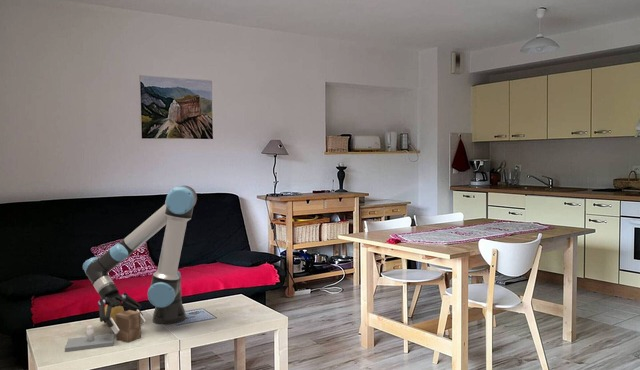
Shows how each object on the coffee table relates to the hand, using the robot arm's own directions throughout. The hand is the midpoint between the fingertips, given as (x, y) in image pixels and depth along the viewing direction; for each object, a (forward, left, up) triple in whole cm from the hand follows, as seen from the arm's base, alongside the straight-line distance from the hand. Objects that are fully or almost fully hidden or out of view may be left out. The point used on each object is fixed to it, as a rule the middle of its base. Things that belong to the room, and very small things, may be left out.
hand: (130, 327), depth 226 cm
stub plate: (+16, 0, -5) cm, 17 cm away
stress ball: (+8, -26, -5) cm, 28 cm away
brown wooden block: (+1, -1, -5) cm, 5 cm away
